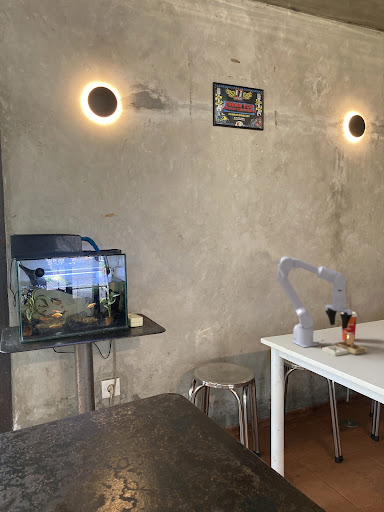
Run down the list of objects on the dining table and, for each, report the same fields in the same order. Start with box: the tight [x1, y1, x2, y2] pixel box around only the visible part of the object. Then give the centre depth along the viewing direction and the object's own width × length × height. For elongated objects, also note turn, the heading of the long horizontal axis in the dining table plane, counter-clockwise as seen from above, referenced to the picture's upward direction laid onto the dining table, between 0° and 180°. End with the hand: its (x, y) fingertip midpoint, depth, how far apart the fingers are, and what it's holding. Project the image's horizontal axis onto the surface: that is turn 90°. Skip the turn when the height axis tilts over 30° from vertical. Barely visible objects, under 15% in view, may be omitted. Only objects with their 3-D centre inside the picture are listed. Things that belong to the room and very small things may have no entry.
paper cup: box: [340, 311, 358, 341], centre depth 191 cm, size 8×8×14 cm
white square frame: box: [321, 344, 349, 357], centre depth 174 cm, size 8×8×2 cm
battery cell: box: [346, 333, 355, 349], centre depth 176 cm, size 3×3×8 cm
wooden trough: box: [334, 340, 367, 356], centre depth 176 cm, size 12×6×2 cm, turn 24°
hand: (338, 326), depth 182 cm, fingers open, 7 cm apart
